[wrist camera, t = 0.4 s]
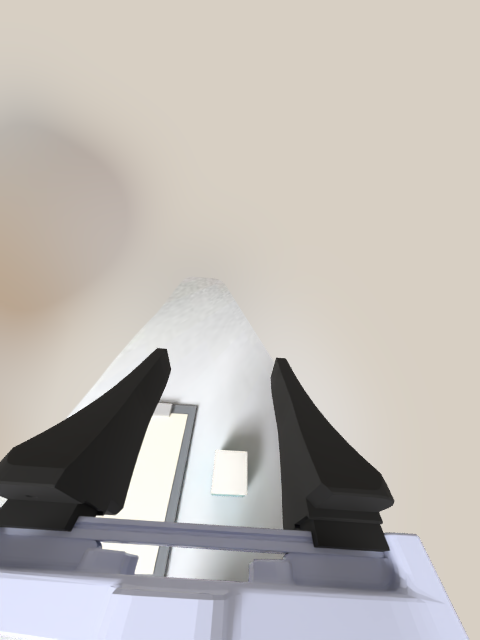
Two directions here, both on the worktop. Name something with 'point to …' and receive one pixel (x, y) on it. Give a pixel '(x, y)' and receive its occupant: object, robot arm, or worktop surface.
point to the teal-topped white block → (229, 473)
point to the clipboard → (157, 481)
